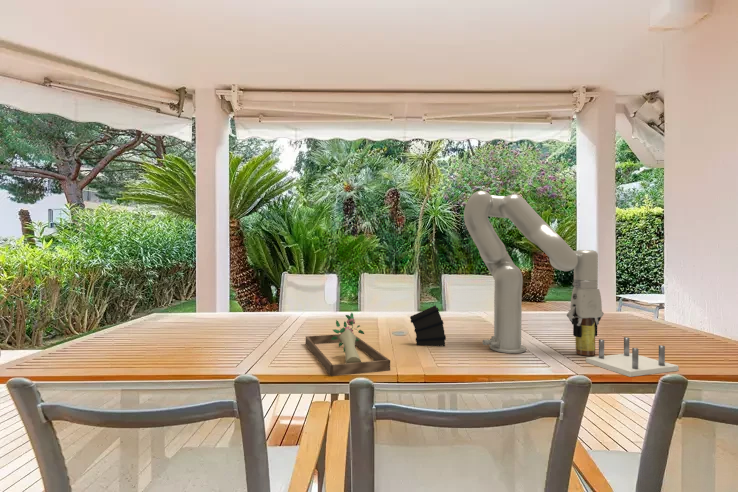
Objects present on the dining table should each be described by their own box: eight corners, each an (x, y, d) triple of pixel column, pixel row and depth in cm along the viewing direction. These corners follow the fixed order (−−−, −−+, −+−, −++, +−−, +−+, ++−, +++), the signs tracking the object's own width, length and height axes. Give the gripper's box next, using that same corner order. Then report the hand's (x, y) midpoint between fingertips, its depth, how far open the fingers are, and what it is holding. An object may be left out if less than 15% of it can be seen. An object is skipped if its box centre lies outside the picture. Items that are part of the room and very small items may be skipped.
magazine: (453, 342, 157) (436, 306, 158) (421, 356, 159) (405, 320, 160) (453, 340, 161) (436, 304, 162) (421, 353, 163) (405, 318, 163)
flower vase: (341, 394, 128) (334, 343, 161) (380, 382, 129) (364, 333, 162) (330, 361, 125) (325, 315, 158) (370, 348, 125) (356, 306, 159)
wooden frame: (330, 376, 122) (330, 365, 122) (305, 344, 160) (305, 336, 160) (390, 370, 128) (390, 360, 128) (352, 340, 166) (352, 333, 166)
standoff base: (630, 376, 123) (630, 351, 123) (585, 362, 138) (585, 339, 138) (678, 370, 129) (678, 346, 129) (631, 357, 144) (631, 335, 144)
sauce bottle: (599, 356, 145) (599, 299, 145) (582, 356, 144) (582, 299, 144) (587, 351, 152) (588, 296, 151) (571, 352, 151) (571, 296, 151)
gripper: (574, 286, 142) (574, 339, 142) (613, 285, 147) (613, 336, 147) (558, 284, 149) (557, 335, 149) (595, 283, 154) (595, 332, 154)
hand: (585, 335), depth 148 cm, fingers closed on sauce bottle, 6 cm apart
